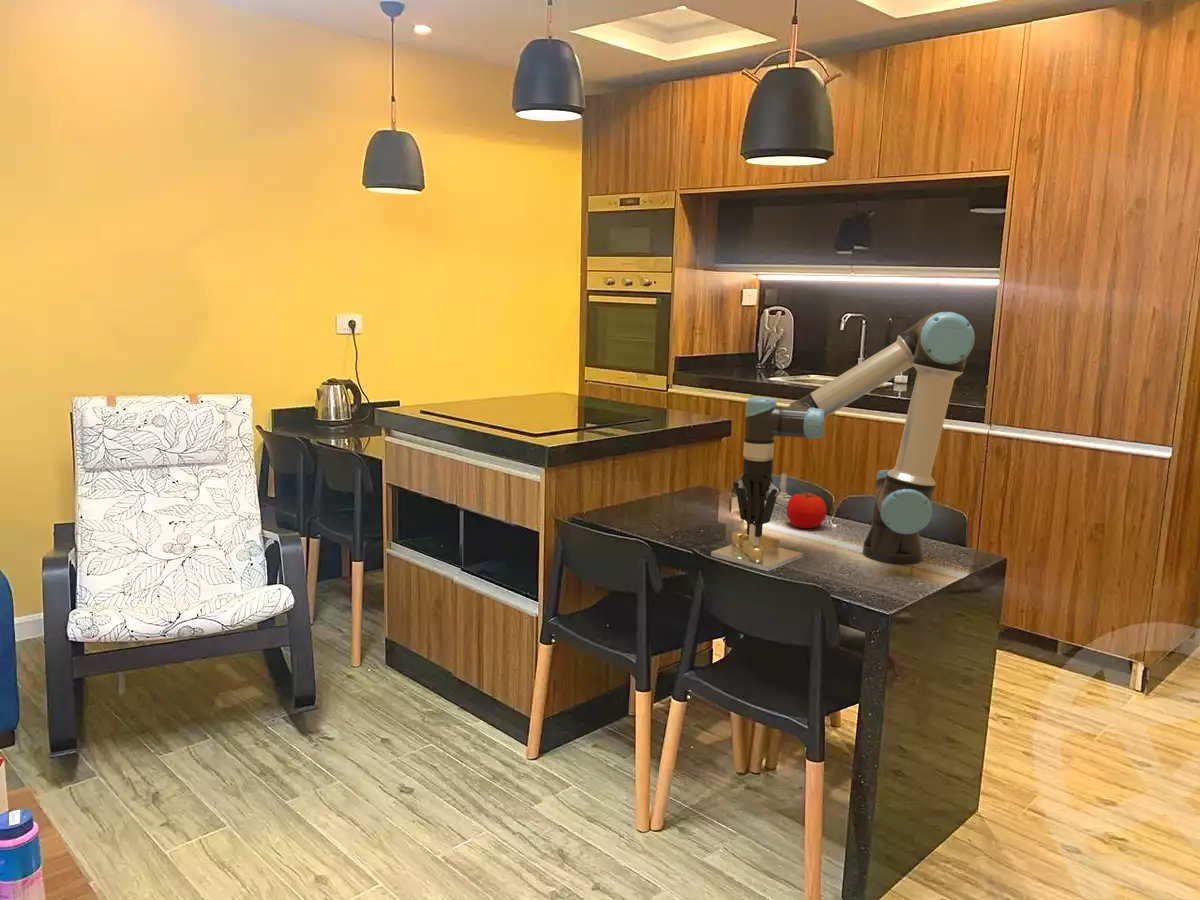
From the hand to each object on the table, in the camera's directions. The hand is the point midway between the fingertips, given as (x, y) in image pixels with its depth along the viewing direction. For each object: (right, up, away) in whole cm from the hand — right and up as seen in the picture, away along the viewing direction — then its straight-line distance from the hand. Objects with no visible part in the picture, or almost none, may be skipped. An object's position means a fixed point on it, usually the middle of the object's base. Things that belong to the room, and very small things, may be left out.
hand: (753, 548), depth 231 cm
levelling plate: (+1, -2, +1) cm, 3 cm away
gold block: (+3, 0, +7) cm, 7 cm away
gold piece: (-1, -2, -4) cm, 5 cm away
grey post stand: (+22, +7, +59) cm, 63 cm away
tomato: (+21, +2, +33) cm, 39 cm away
